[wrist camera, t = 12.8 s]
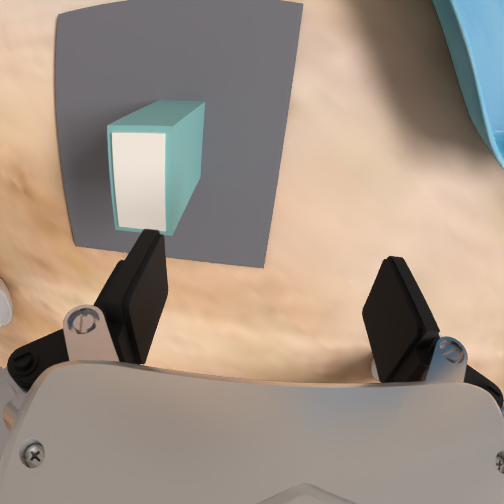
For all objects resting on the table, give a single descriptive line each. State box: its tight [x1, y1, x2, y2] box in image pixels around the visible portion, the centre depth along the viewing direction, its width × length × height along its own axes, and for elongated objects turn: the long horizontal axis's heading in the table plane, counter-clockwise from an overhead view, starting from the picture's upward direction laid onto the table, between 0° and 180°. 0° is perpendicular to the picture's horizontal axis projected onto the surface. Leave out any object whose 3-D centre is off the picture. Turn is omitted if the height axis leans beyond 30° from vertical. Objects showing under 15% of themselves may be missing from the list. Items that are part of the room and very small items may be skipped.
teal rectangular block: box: [107, 100, 205, 236], centre depth 21 cm, size 4×7×10 cm, turn 174°
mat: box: [55, 0, 303, 268], centre depth 26 cm, size 22×26×1 cm
